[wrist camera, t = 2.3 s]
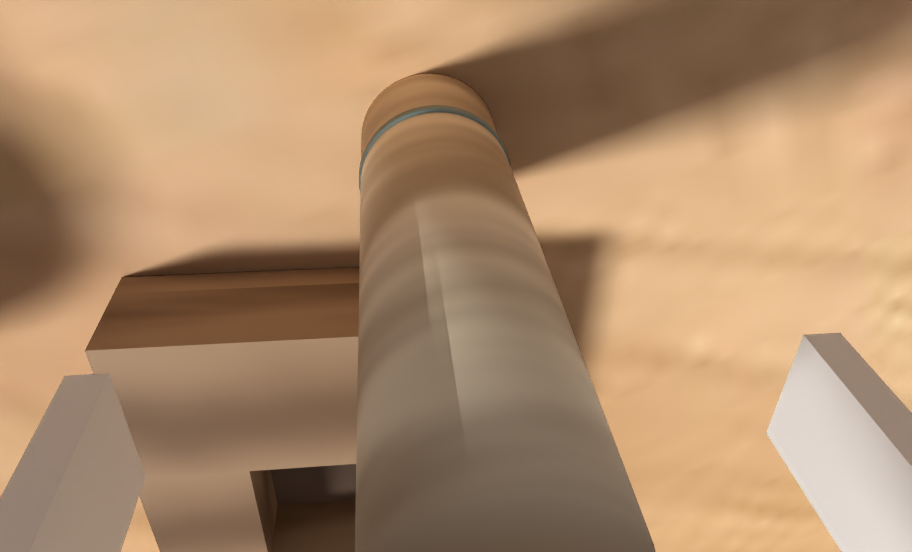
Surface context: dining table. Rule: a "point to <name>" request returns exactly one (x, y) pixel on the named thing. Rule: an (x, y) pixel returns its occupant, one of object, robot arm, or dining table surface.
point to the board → (240, 405)
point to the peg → (469, 352)
